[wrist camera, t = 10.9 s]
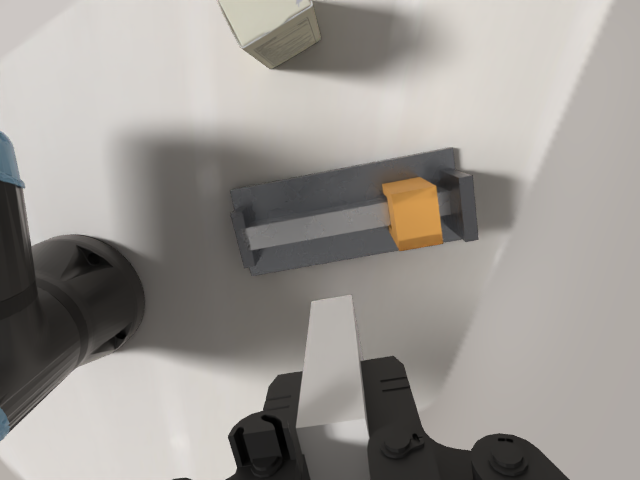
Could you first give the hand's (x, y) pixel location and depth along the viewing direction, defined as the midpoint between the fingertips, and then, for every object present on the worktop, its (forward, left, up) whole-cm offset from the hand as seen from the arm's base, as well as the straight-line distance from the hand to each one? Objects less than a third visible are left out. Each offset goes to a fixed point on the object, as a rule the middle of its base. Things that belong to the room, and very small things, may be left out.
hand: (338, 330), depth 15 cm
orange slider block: (+7, -2, -29) cm, 30 cm away
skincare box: (-2, +17, -31) cm, 35 cm away
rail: (+1, -2, -30) cm, 30 cm away
